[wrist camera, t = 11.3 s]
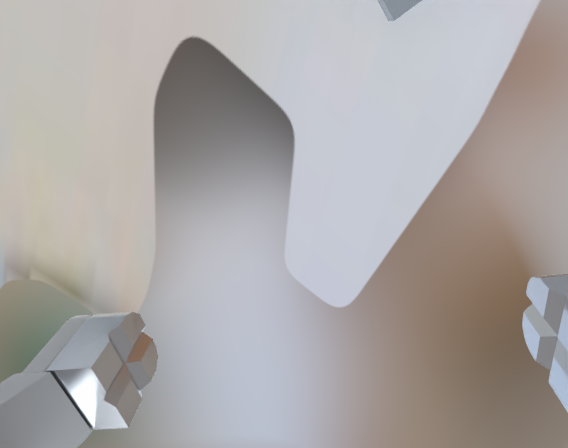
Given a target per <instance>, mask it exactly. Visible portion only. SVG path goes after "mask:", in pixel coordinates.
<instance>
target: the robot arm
mask: <svg viewBox="0 0 568 448" xmlns="http://www.w3.org/2000/svg"><path fill="white" fill-rule="evenodd" d="M526 294H527V296H528V297H529V299H530V300H531V301H532V305H530V306H529V307H528V308H527V309H526V310H525V311H524V313H523V324H522V326H523V332H524V337H525V341H526V343H527V346H528V348H529V351H530V352H531V354H532V355H533V357H534V359H535V361H536V362H538V363H539V364H541V365H543V366H544V367H546V368H548V369H549V370H551V372H550V377H549V383H550V385H551V387H552V388H553V390H554V391H555V393H556V394H557V396H558V398H559V399H560V401H561V403H562V404H563V406H564V407H565V409H566V410H567V412H568V274H558V275H547V276H536V277H532V278H531V279H530V281H529V282H528V286H527V292H526ZM144 327H145V323H144V321H143V319H142V318H141V316H140V314H138V313H135V312H123V313H107V314H94V315H81V316H75V317H73V318H70V319H68V320H67V321H66V322H65V323H64V325H63V326H62V327H61V328H60V329H59V330H58V332H57V333H56V334H55V335H54V336H53V337H52V339H51V340H50V341H49V342H48V343H47V344H46V345H45V347H44V348H43V349H42V350H41V351H40V352H39V354H38V355H37V356H36V357H35V358H34V359H33V361H32V362H31V363H30V364H29V365H28V366H27V368H26V369H25V370H24V371H23V372H22V373H19V374H14V375H12V376H11V377H9V378H8V379H6V380H5V381H3V382H1V383H0V448H77V447H78V446H79V445H80V444H81V443H82V442H83V441H84V440H85V439H86V438H87V437H88V436H89V435H90V434H91V433H92V430H96V429H113V428H128V427H129V426H130V423H131V421H132V419H133V417H134V415H135V413H136V411H137V409H138V407H139V405H140V403H141V401H142V395H141V391H140V390H141V389H142V388H143V387H145V386H146V385H147V384H148V383H149V382H150V381H151V380H152V378H153V376H154V373H155V371H156V367H157V359H158V355H157V349H156V345H155V343H154V341H153V339H152V338H150V337H149V336H148V335H146V334H145V333H143V330H144Z"/></svg>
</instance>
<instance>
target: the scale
mask: <svg viewBox="0 0 568 448" xmlns="http://www.w3.org/2000/svg"><path fill="white" fill-rule="evenodd" d="M420 1H422V0H378V2H379V4H380V6H381V8H382V9H383V11H384V13H385V15H386V17H387V19H388V21H394V20H396V19H397V18H398V17H400V16H401V15H402V14H404V13H405V12H407V11H408V10H409V9H411V8H412V7H413V6H415V5H416V4H417V3H419V2H420Z"/></svg>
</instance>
